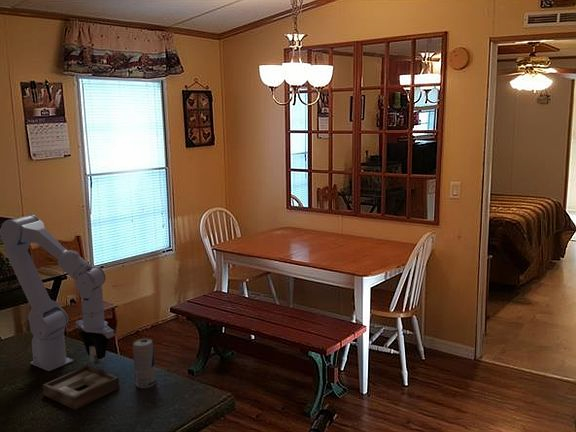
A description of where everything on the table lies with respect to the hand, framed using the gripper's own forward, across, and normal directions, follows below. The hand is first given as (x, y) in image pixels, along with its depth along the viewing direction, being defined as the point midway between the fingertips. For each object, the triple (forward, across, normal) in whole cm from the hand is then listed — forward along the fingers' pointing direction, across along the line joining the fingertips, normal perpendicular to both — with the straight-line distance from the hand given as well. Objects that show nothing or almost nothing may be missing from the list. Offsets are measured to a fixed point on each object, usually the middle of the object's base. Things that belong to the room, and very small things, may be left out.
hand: (96, 356), depth 162 cm
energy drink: (+4, -19, -1) cm, 20 cm away
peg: (+2, 0, 0) cm, 2 cm away
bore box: (+4, -8, +11) cm, 14 cm away
